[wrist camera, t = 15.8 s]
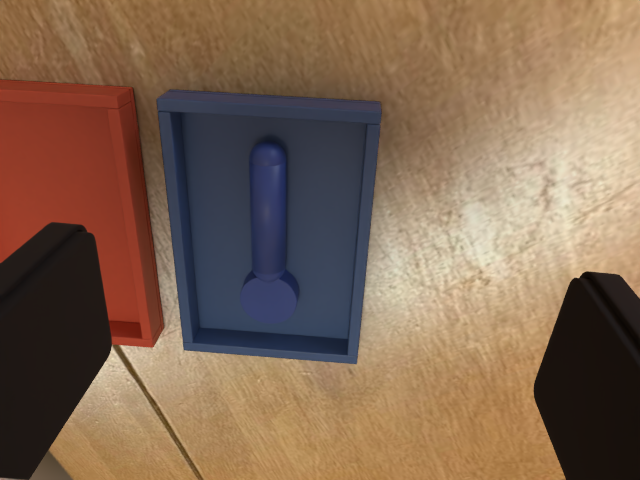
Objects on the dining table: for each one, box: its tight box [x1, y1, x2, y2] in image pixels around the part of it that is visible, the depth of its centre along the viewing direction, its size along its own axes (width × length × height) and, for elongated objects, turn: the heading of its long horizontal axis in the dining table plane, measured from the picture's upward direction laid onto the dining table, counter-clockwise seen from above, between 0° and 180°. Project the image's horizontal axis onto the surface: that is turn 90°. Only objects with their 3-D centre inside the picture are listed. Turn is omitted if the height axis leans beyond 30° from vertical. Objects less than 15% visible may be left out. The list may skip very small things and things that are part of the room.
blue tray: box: [156, 89, 382, 364], centre depth 27 cm, size 15×10×2 cm
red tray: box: [0, 80, 164, 347], centre depth 28 cm, size 15×10×2 cm
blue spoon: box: [240, 141, 299, 324], centre depth 27 cm, size 11×3×2 cm, turn 178°
